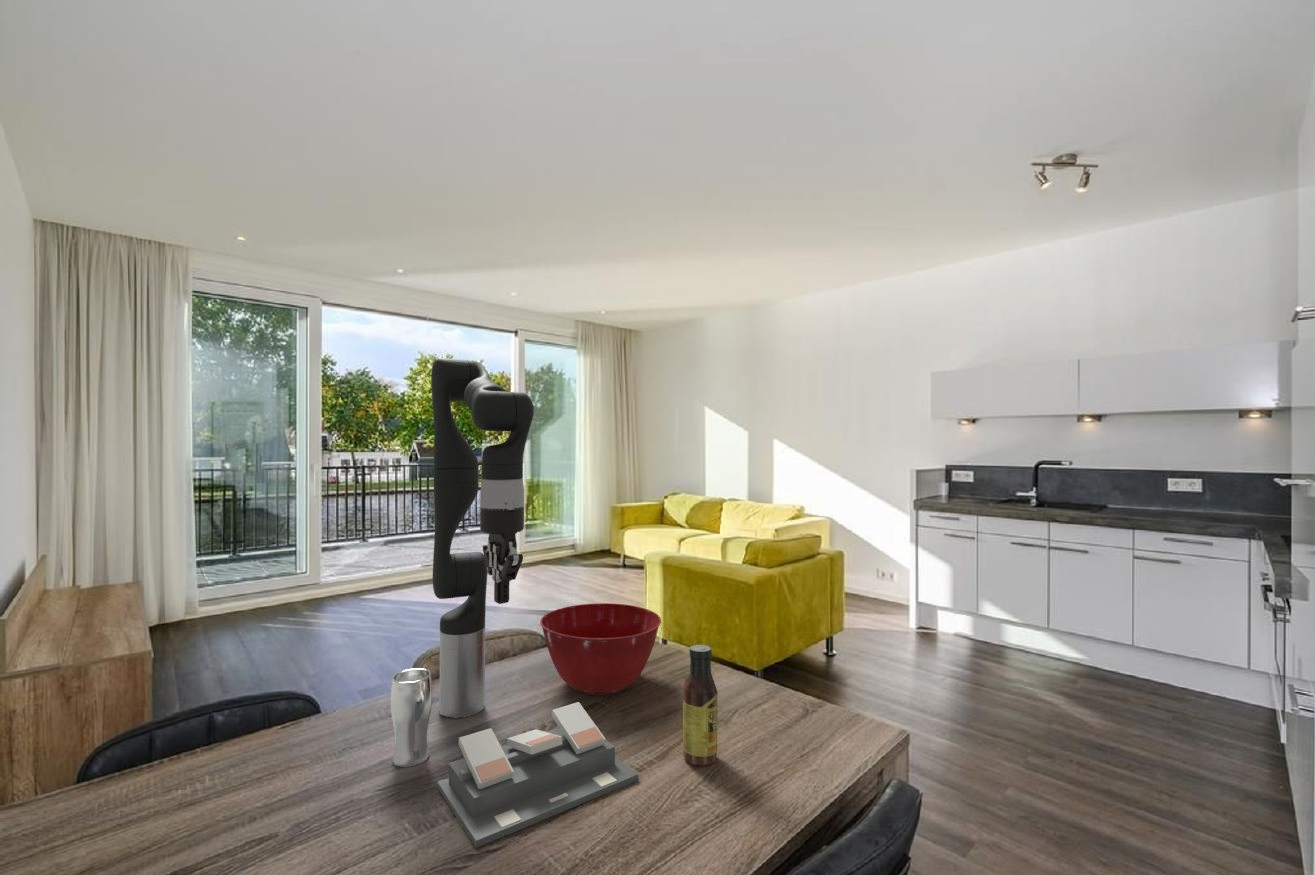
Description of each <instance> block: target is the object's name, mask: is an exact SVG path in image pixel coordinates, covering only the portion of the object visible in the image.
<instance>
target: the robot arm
mask: <svg viewBox="0 0 1315 875" xmlns="http://www.w3.org/2000/svg"><path fill="white" fill-rule="evenodd" d="M431 367H432V368H431V373H430V375H431V376H430V384H431V385H430V386H431V400H432V411H433V412H432V414H433V428H434V430H433V435H434V438H433V439H434V441H433V442H434V443H433V444H434V445H433V498H434V500H433V502H434V540H433V541H434V542H433V558H432V588H433V593H434V595H435V597H436V599H439V600H446V599H454V598H465V597H467V599H465V601H464V602H462V604H460V605H458V606H457V607H455V608H453V609H451V610H449V611H447V612H445V613H444V614H443V615H442V616H441V617H440V620H439V701H438V702H439V706H438V708H439V710H438V712H439V711H440V712H439V714H440V713H441V714H440V715H441V716H442V715H444V716H446V717H445V718H448V717H451V718H450V719H453V718H452V717H463V718H465V717H464V716H468V717H470V716H469V715H472V716H475V715H477V714H479V713H480V712H482V711H483V709H485V705H486V704H485V702H486V698H485V696H486V693H485V691H486V609H487V608H486V606H487V605H486V604H487V602H486V601H487V585H488V575H489V576H491V579H492V581H493V583H494V584H493V588H494V589H493V594H494V595H493V597H494V598H493V600H494V603H496V604H499V605H503V604H507V603H509V602H510V582H512V581H513V580H514V581H515V580H516V579H517V575H518V573H519V570H520V568H521V566H522V563H523V560H524V555H523V554H522V553H517V551H518V550H517V549H518V543H517V536H516V534H517V533H519V532H520V533H521V532H522V531H523V530H524V529H525V487H524V479H523V478H524V453H525V448H526V444H527V439H528V435H529V433H530V429H531V426H532V424H533V419H534V414H535V409H534V404H533V400H532V399H531V398H530V396H529V395H528V394H527V393H524V392H521V391H520V392H519V391H506V390H505V389H504V388H503V387H502V386H500V385H499V384H497V383H496V382H494V381H493V379H492V378H491V375H490V374H489V373H488V372H487V369H486V368H485V366H483V364H482V363H480V362H478V361H474V360H469V359H460V358H459V359H458V358H446V357H442V358H441V357H439V358H437V359H435V361H434V362H433V363H432V366H431ZM451 402H464V403H465V404H466V406H467V408H468V410H470V411H471V416H472V421H473V424H474V426H475V427H476V428H477V429H479V430H481V431H486V432H509V435H508V437H507V439H506V440H505V441H504V442H501V443H496V444H490V445H489V446H488V445H487V446H486V447H484V449H483V450H482V455H481V456H482V457H481V485H480V484H479V483H480V482H479V479H480V478H479V475H480V474H479V460H478V458H477V456H476V452H475V451H474V450H473V448H472V446H471V445H470V444H469V442H468V441H467V439H466V438H465V436H464V435H463V434H462V432H461V431H460V429H459V427H458V425H457V423H456V421H455V419H454V416H453V412H452V408H451ZM479 486H481V487H480V491H479ZM479 492H480V494H479V495H480V496H479V497H480V499H479V501H480V502H479V503H480V505H479V506H480V507H479V508H480V510H479V529H480V532H482V533H484V534H488V539H487V540H488V541H487V544H483V546H482V552H483V553H482V552H480V551H471V552H455V553H451V547H452V543H453V539H454V536H455V534H456V532H457V529H458V528H459V525H460V524H461V522H462V521H463V518H464V517H465V515H466V514H467V512H468V511H469V510H470V508H471V506H472V504H473V503H474V501H475V500H476V498H477V496H478V493H479ZM444 716H443V717H444Z"/></svg>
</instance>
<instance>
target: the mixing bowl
mask: <svg viewBox="0 0 1315 875" xmlns="http://www.w3.org/2000/svg"><path fill="white" fill-rule="evenodd" d="M539 622H540V623H539V624H540V626H541V628H542V632H543V636H544V640H545V644H546V647H547V650H548V653H549V656H550V658H551V660H552V663H553V666H554V668H555V669H556V672H557V673H558V675H559V677H560V678H561V679H562V681H563V682H564V683H566V684H567V685H568V686H569V687H571V688H573V689H574V690H575V691H577V692H580V693H582V694H587V695H593V696H600V695H602V696H603V695H610V694H615V693H619V692H621V691H624V690H625V689H626V688H628V687H629V686H630V685H632V684H633V683H635V682H636V680H637V679H639V677H640V676H641V674H642V672H643V671H644V668H645V666H646V665H647V663H648V661H649V658H650V656H651V653H652V651H653V648H654V646H655V641H656V639H657V635H658V631H659V627H660V626H661V624H662V619H661V617H660V616H659V614H657V613H656V612H654V611H652V610H650V609H648V608H645V607H640V606H636V605H632V604H631V605H630V604H625V603H624V604H622V603H608V602H607V603H605V602H602V603H599V602H597V603H584V604H576V605H571V606H570V605H569V606H566V607H560V608H557V609H554V610H551V611H549V612H547V613H546V614H544V615H542V617H541V618H540V620H539Z"/></svg>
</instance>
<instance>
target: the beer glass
mask: <svg viewBox="0 0 1315 875" xmlns="http://www.w3.org/2000/svg"><path fill="white" fill-rule="evenodd" d="M432 684H433V683H432V672H431V670H429V669H426V668H419V667H418V668H408V669H404V670H402V671H399V672H397V673H395V674H393V675H392V677H391V689H390V714H391V721H392V726H393V731H394V738H395V743H394V745H395V746H394V751H393V756H392V763H393V762H394V763H393V765H395V766H396V765H397V766H396V767H398V766H400V767H399V768H411V766H412V767H415V765H416V766H418V765H420V764H419V763H421V764H423V763H425V762H426V760H428V759H427V758H430V757H429V756H430V749H429V744H428V729H429V723H430V718H431V713H432V705H433V685H432ZM422 762H423V763H422ZM417 764H418V765H417Z"/></svg>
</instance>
